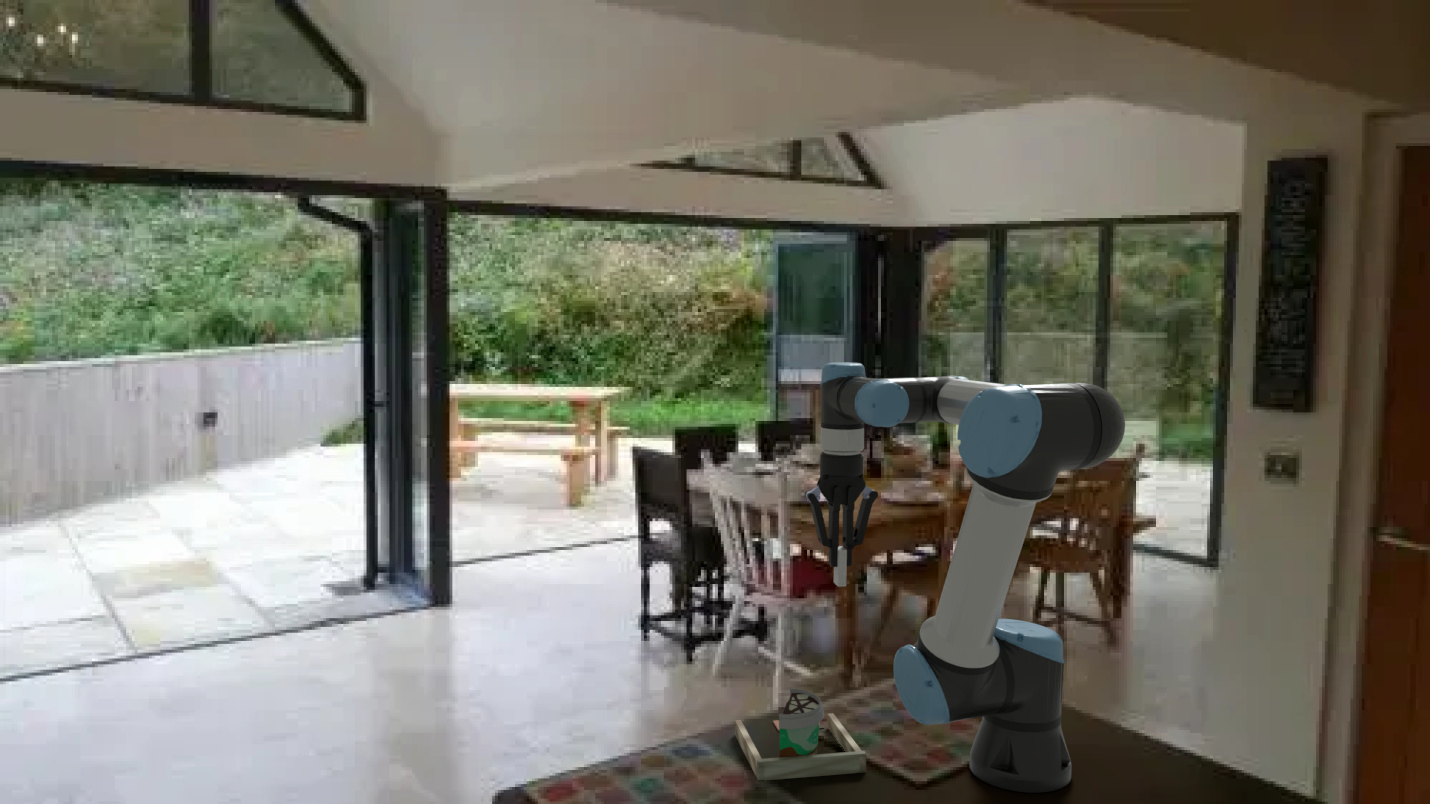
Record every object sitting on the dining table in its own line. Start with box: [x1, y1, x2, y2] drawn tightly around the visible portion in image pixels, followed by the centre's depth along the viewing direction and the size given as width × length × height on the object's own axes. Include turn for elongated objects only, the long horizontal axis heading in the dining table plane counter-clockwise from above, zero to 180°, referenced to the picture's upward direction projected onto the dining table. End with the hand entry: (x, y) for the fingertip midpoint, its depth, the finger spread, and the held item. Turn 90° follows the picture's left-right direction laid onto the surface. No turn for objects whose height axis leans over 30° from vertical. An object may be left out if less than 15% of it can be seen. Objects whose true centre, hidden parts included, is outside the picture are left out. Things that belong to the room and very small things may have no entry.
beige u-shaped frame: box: [734, 712, 867, 781], centre depth 176 cm, size 18×17×3 cm
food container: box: [778, 687, 825, 757], centre depth 172 cm, size 12×6×10 cm, turn 167°
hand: (839, 584), depth 193 cm, fingers closed
